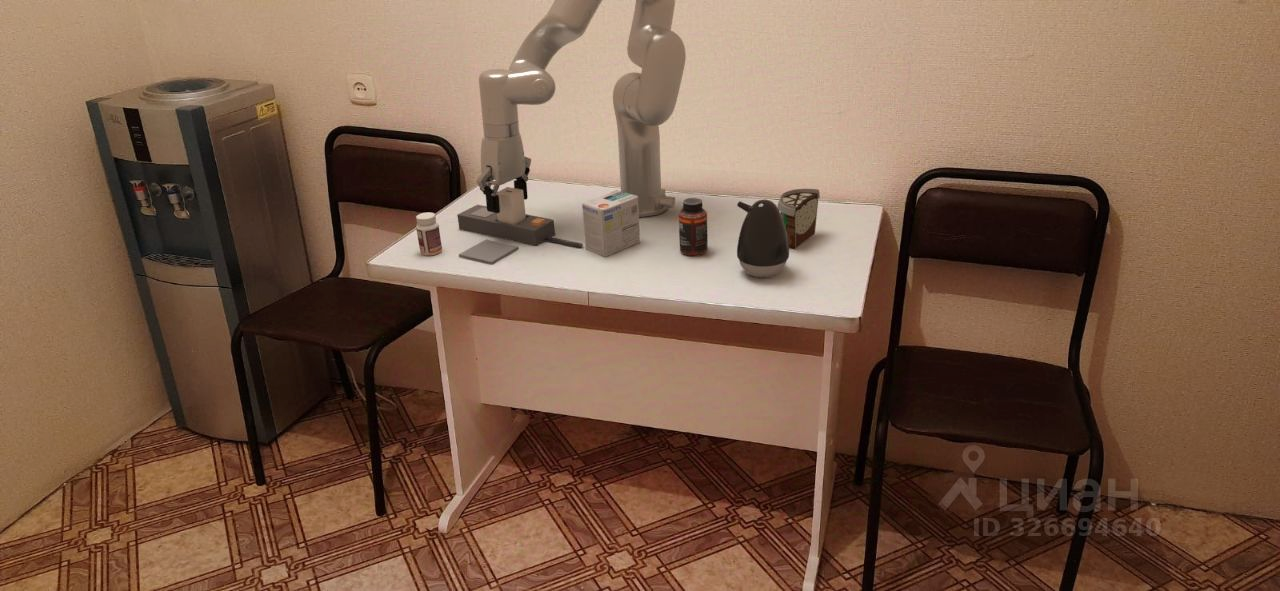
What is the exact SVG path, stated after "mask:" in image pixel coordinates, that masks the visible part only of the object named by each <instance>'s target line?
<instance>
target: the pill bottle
mask: <svg viewBox="0 0 1280 591" xmlns="http://www.w3.org/2000/svg"><path fill="white" fill-rule="evenodd" d="M415 218H416V225H415V226H416V227H415V229H416V235H417V239H418V240H417V241H418V247H419V253H420V254H421V255H423V256H430V257H431V256H435V255H439V254H440V253H441V252H442V251H443V245H442V239H441V238H442V237H441V233H440V231H441V230H440V225H439V223H438V222H437V217H436V214H435V213H434V212H421V213H419V214H418V215H416V216H415Z"/></svg>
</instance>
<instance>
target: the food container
mask: <svg viewBox="0 0 1280 591" xmlns="http://www.w3.org/2000/svg"><path fill="white" fill-rule="evenodd" d="M820 196H821V195H820V189H817V188H797V189H795V188H794V189H790V190H788V191H785V192H783V193H782V194H781V195H780V196H779V199H778V202H777V205H776V206H777V208H778V209H779V211H780V213H781V215H782V218H783V221H784V224H785V227H786V231H787V236H788V243H789V249H792V250H797V249H799V248H800V247H801V246H802V245H804V244H805V243H806V242H808V241H809V240H810V239H811V238H812V237H814V236H816V229H817V228H816V226H817V216H818V206H819V199H820Z"/></svg>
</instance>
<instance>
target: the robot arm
mask: <svg viewBox="0 0 1280 591" xmlns="http://www.w3.org/2000/svg"><path fill="white" fill-rule="evenodd" d="M602 2H603V0H553V2H552V5H551V6H550V8H549V9H548V11H547V13H546V15H545V16H544V17H543V18H542V19H541V20H540V21H539V22H538V23H537V25H535V26H534V28H533V29H532V30H531V31H530V32H529V33H528V34H527V36H526V37H525V39H523V42H522V43H521V45H520V46H519V47H518V48H519V49H518V50H517V52H516V54H515V56H514V58H513V59H512V61H511V63H510V65H509V67H508V69H505V68H492V69H487V70H484V71H482V72H480V74H479V77H478V84H479V85H478V86H479V95H480V96H479V97H480V105H481V107H480V108H481V117H482V118H481V120H482V128H483V137H482V139H481V147H480V170H481V173H480V175H479V176H478V177H477V179H476V184H477V185H478V187H479V189H480V191H481V192H482V193H483V195H485V203H486V205H485V206H487V211H489V212H493V213H499V212H500V204H499V195H496V194H497V192H498V191H499V189H500V186H502V185H505V184H507V183H509V182H512V181H513V188H516V189H521V190H523V194H524V201H526V200H528V198H529V197H528V196H529V195H528V186H527V182H528V181H529V174H530V171H531V170H530V167H531V162H532V159H531V157H527V156H525V151H524V144H523V140H522V135H521V132H520V125H519V124H520V123H519V112H518V105H525V106H528V105H530V106H537V105H539V106H540V105H543V104H546V103H547V102H548V103H549V101H550V100H551V99H552V98H553V97H554V95H555V93H556V82H555V80H554V78H553V76H552V75H551V74H550V73H549V72H548V71H546V69H547V67H548V65H549V64H550V62H551V61H552V59H553V58H554V56H555V55H556V54H557V53H558V52H559V50H561V49H562V48H564V47H565V46H567V45H568V44H571V43H573V42H575V41H576V40H578V39H580V38H581V37H582V36H583V35H584V33H585V32H586V30H587V28H588V26H589V24H590V23H591V21H592V20H593V17H594V15H596V12H597V10H598V9H599V7H600V4H601V3H602ZM675 6H676V0H635V6H634V12H633V17H632V21H631V25H630V26H631V27H630V30H629V35H628V40H627V47H626V51H627V57H628V58H629V60H630V62H632V63H633V64H634V65H636V66H638V67H639V68H641V72H628V73H626V74H624V75H622V76H621V77H619V78H618V80H617V81H616V83H615V85H614V87H613V92H612V105H613V110H614V115H615V120H616V127H617V128H616V129H617V140H618V142H617V143H618V146H617V147H618V158H619V159H618V162H619V180H620V183H619V184H620V191H622V192H625V193H629V194H632V195H636V196H638V209H639V218H640V217H641V218H643V217H644V218H645V217H652V216H656V215H660V214H662V213H664V212H665V211H667V209H674V207H675V203H676V202H675V201H676V198H675V196H671V195H670V196H668V195H667V194H666V189H665V188H662V178H661V177H662V173H661V171H662V170H661V146H660V145H661V141H660V140H661V139H660V137H661V136H660V135H661V134H660V126H661V125H663V124H664V123H666V122H667V121H668V120H669V119H670V117H671V116H672V114H673V113H674V110H675V108H676V104H677V101H678V97H679V93H680V88H681V84H682V79H683V74H684V71H685V65H686V59H687V58H686V57H687V56H686V47H685V44H684V41H683V39H682V38H681V37H680V36H679V35H678V34H677V33H676V32H675V31H672V25H673V18H674V13H675ZM492 186H493V187H492ZM491 187H492V188H491Z"/></svg>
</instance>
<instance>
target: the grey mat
mask: <svg viewBox="0 0 1280 591" xmlns="http://www.w3.org/2000/svg"><path fill="white" fill-rule="evenodd" d="M518 250H519V246H517V245H514V244H509V243H504V242H499V241H496V240H491V239H484V240H482V241H480V242H478V243H477V244H475V245H473V246H471V247H469V248H468V249H466V250H464V251H462V252H461V253H459V254H458V257H459V258H461V259H466V260H471V261H475V262H479V263H483V264H488V265H494V264H496V263H497V262H499V261H501V260H503V259H504V258H506V257H507V256H509V255H511V254H513V253H515V252H516V251H518Z"/></svg>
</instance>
